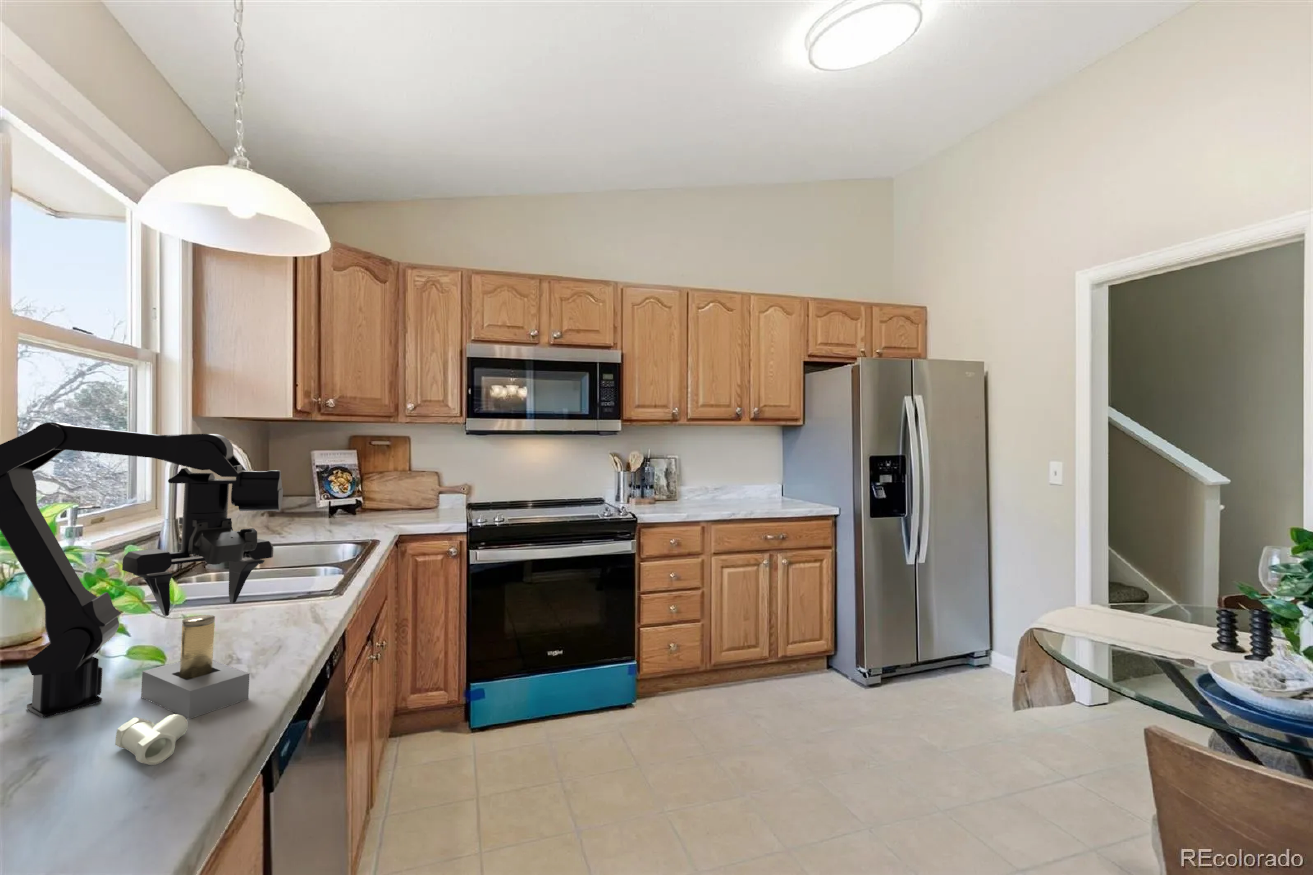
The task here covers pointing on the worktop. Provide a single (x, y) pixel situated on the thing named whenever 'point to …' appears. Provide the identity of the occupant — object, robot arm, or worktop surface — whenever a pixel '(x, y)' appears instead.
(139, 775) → the worktop surface
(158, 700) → the block
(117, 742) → the pipe fitting
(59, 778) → the worktop surface
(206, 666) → the brass plug
